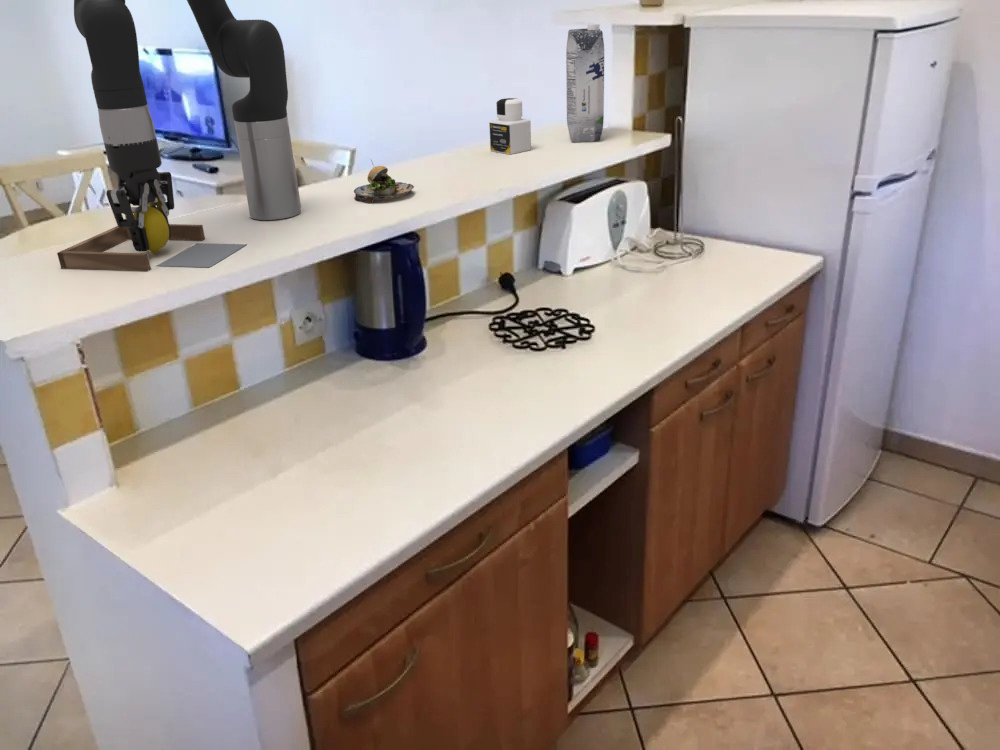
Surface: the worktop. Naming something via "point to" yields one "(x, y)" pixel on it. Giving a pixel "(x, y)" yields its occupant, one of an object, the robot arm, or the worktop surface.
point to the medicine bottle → (510, 128)
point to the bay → (94, 257)
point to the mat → (202, 255)
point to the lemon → (155, 229)
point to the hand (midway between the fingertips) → (153, 244)
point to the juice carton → (585, 83)
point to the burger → (380, 187)
